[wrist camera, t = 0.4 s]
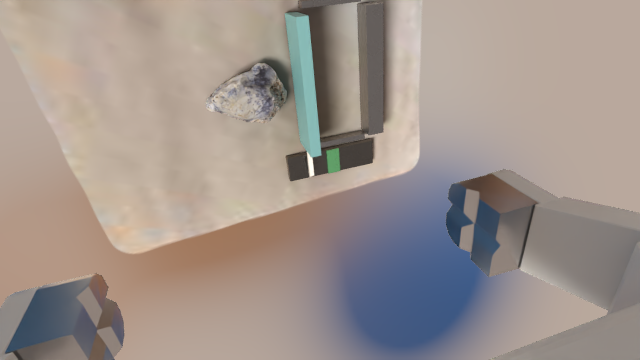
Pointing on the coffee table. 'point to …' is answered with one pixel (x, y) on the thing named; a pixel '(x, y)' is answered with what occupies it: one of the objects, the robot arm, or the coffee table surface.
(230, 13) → the coffee table surface
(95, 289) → the robot arm
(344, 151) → the gauge frame
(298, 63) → the gauge plate
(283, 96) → the mineral specimen
